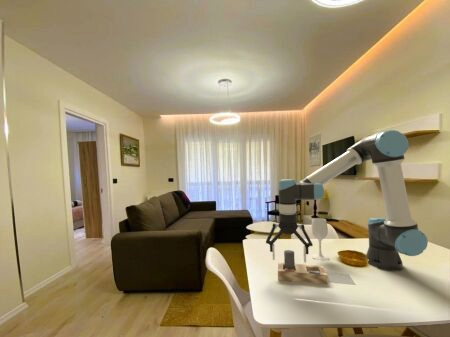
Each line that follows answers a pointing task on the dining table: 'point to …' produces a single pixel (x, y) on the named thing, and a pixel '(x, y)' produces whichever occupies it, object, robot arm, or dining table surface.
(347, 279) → the pad
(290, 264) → the plug
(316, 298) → the dining table surface
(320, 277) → the socket block
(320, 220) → the wineglass
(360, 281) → the dining table surface
